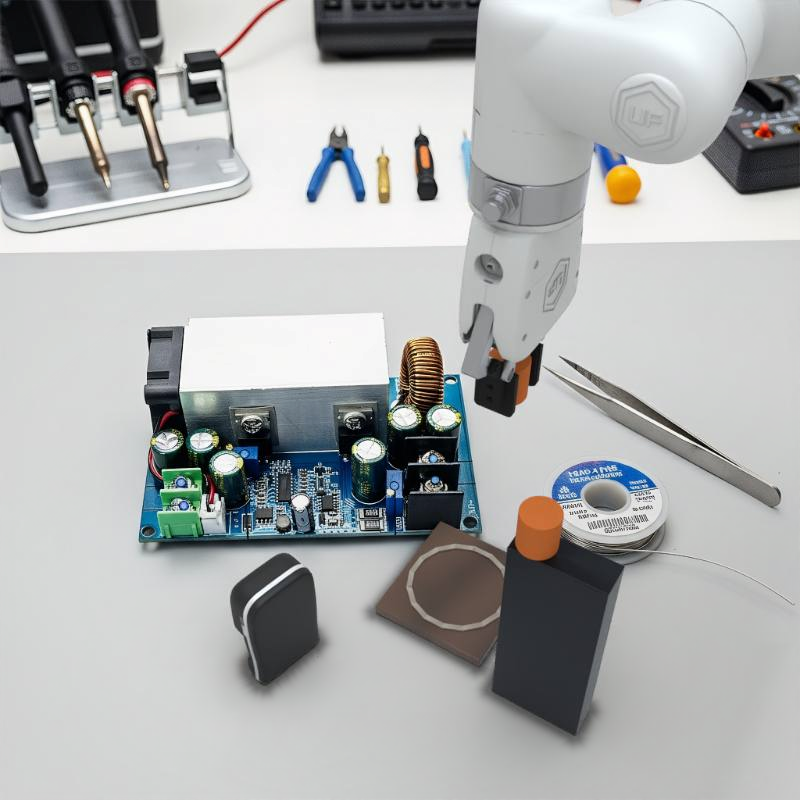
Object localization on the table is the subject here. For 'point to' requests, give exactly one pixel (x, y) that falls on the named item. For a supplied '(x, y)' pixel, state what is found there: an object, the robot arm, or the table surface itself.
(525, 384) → the eye dot
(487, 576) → the board
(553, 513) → the eye dot
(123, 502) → the table surface
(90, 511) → the table surface
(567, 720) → the dot stand
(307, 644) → the battery charger
